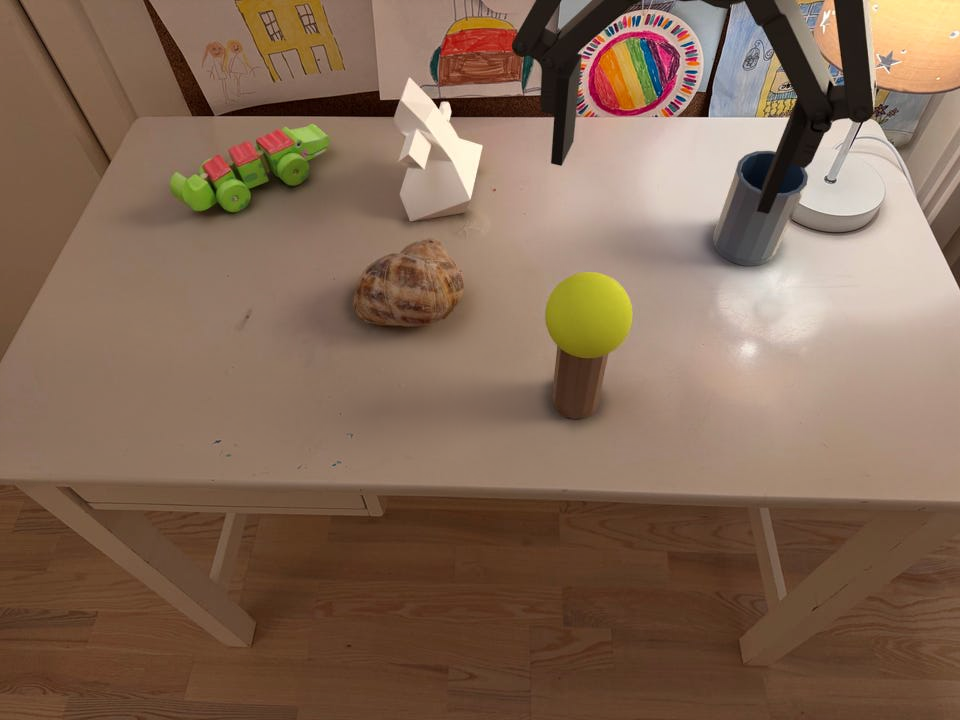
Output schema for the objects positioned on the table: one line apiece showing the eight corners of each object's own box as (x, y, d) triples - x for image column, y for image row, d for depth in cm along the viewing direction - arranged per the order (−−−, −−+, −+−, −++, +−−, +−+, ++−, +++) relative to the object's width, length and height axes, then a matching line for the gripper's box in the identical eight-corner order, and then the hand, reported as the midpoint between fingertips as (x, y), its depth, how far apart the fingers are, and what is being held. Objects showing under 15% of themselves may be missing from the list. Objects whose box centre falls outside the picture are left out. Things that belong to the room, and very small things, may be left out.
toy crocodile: (317, 138, 91) (306, 97, 86) (342, 165, 88) (333, 124, 83) (174, 202, 85) (153, 162, 80) (195, 233, 82) (175, 193, 77)
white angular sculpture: (486, 155, 88) (483, 53, 77) (468, 233, 81) (463, 134, 69) (420, 150, 89) (408, 49, 78) (397, 227, 81) (380, 128, 70)
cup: (789, 253, 77) (822, 183, 69) (737, 274, 76) (765, 204, 68) (750, 214, 81) (778, 143, 73) (700, 233, 80) (723, 162, 71)
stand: (607, 408, 67) (621, 347, 59) (565, 426, 66) (574, 366, 58) (584, 374, 69) (595, 310, 61) (543, 390, 68) (549, 327, 60)
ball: (641, 358, 58) (655, 305, 53) (565, 386, 57) (570, 335, 51) (602, 298, 62) (611, 243, 56) (530, 323, 61) (532, 269, 55)
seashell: (415, 243, 79) (439, 211, 69) (460, 310, 79) (490, 287, 70) (337, 290, 75) (350, 262, 66) (384, 360, 75) (404, 342, 66)
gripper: (1089, -233, 28) (864, 181, 45) (503, -280, 34) (503, 103, 51) (1108, -161, 24) (854, 262, 42) (442, -228, 30) (464, 168, 47)
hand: (660, 175), depth 46 cm, fingers open, 13 cm apart
